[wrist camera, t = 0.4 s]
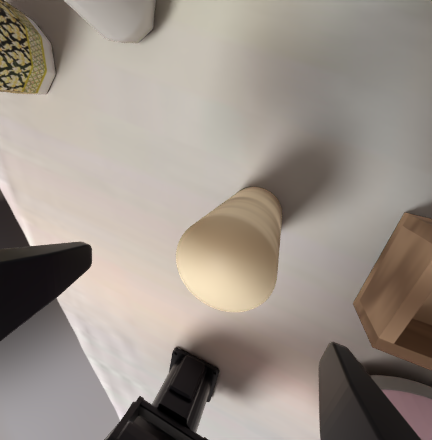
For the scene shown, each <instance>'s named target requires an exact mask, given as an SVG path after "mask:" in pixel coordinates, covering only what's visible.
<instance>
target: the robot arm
mask: <svg viewBox="0 0 432 440" xmlns="http://www.w3.org/2000/svg"><path fill="white" fill-rule="evenodd" d="M91 264H92V248H91V246H90V245H89V244H86V243H84V242H72V243H61V244H50V245H40V246H29V247H19V248H8V249H0V341H1V340H3V339H4V338H5V337H7V336H8V335H9V334H10V333H12V332H13V331H14V330H16V329H17V328H18V327H19V326H21V325H22V324H23V323H25V322H26V321H27V320H28V319H30V318H31V317H32V316H34V315H35V314H36V313H38V312H39V311H40V310H41V309H43V308H44V307H45V306H46V305H48V304H49V303H51V302H52V301H53V300H54V299H56V298H57V297H58V296H59V295H60V294H61V293H62V292H64V291H65V290H66V289H67V288H68V287H69V286H70V285H71V284H72V283H74V282H75V281H76V280H77V279H78V278H79V277H80V276H81V275H82V274H84V273H85V272H86V271H87V270H88V269H89V268H90V266H91ZM218 374H219V369H218V368H216V367H214V366H212V365H210V364H208V363H206V362H204V361H202V360H200V359H198V358H196V357H194V356H192V355H190V354H188V353H186V352H184V351H182V350H180V349H178V348H175V349H174V350H173V353H172V359H171V364H170V370H169V374H168V376H167V378H166V379H165V381H164V383H163V385H162V387H161V389H160V390H159V392H158V394H157V396H156V398H155V400H154V401H153V403H152V405H151V404H150V403H148V402H147V401H145V400H144V398H143V397H141V396H139V398H138V399H137V401H136V402H133V403H132V404H131V406H130V408H129V409H128V411H127V412H126V414H125V415H124V417H123V418H122V419H121V421H120V422H119V424H117V426H116V427H115V428H114V429H113V430H112V431H111V432H110V434H109V435H108V436H107V437H106V438H105V439H104V440H208V439H207V438H205V437H204V438H203V437H201V436H200V435H198V434H197V433H196V431H197V428H198V425H199V422H200V419H201V416H202V413H203V410H204V407H205V404H206V402H210V400H211V396H212V393H213V390H214V387H215V384H216V380H217V377H218ZM319 419H320V437H321V440H421V438H420V437H419V436H418V435H417V433H416V432H415V431H414V430H413V429H412V427H411V426H410V425H409V424H408V422H407V421H406V420H405V419H404V417H403V416H402V415H401V414H400V412H399V411H398V410H397V409H396V407H395V406H394V405H393V404H392V402H391V401H390V400H389V399H388V398H387V396H386V395H385V394H384V393H383V391H382V390H381V389H380V388H379V386H378V385H377V384H376V383H375V381H374V380H373V379H372V378H371V376H370V375H369V374H368V373H367V371H366V370H365V369H364V368H363V367H362V365H361V364H360V363H359V362H358V360H357V359H356V358H355V357H354V355H353V354H352V353H351V352H350V350H349V349H348V348H347V347H345V346H342V345H340V344H337V343H335V342H331V343H329V345H328V347H327V348H326V350H325V352H324V354H323V356H322V358H321V360H320V363H319Z"/></svg>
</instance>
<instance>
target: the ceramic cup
mask: <svg viewBox="0 0 432 440" xmlns="http://www.w3.org/2000/svg"><path fill="white" fill-rule="evenodd" d="M55 74H56V72H55V65H54V59H53V52H52V45H51V43H50V41H49V40H48V39H47V37H46V36H45V35H44V34H43V32H42V31H41V30H40V28H39V27H38V26H37V25H36V23H35V22H34V21H33V20H32V19H30V18H29V17H27V16H26V15H24V14H23V13H21V12H20V11H19V10H17V9H16V8H14V7H13V6H11V5H10V4H8V3H7V2H5V1H4V0H0V92H10V93H22V94H47V92H48V90H49V88H50V86H51V83H52V81H53V79H54V77H55Z"/></svg>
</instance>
